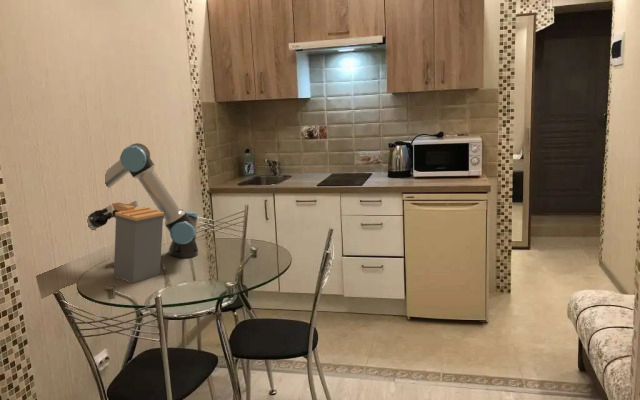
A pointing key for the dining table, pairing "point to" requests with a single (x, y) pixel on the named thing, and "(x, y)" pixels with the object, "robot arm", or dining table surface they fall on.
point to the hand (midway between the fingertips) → (124, 205)
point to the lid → (135, 212)
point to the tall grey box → (137, 248)
